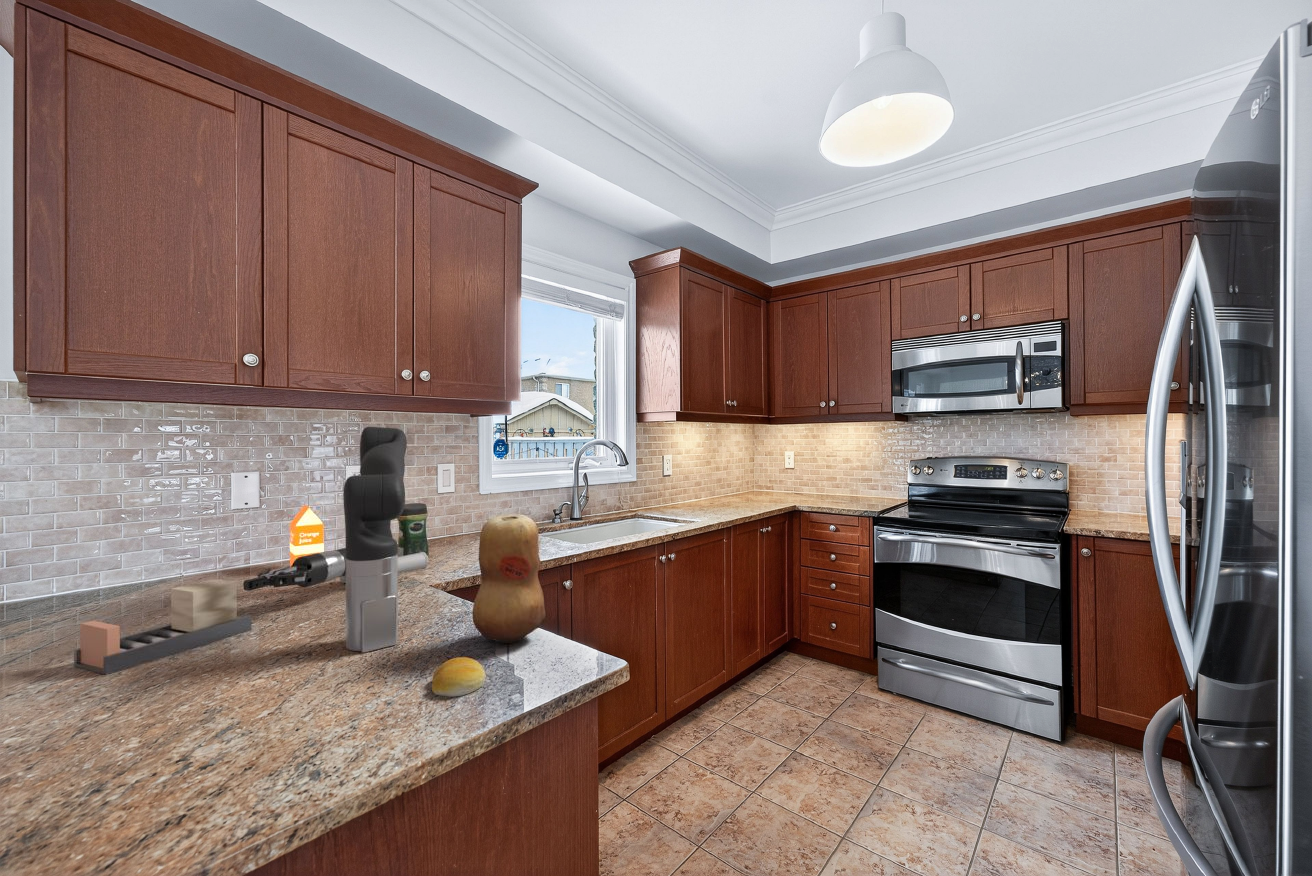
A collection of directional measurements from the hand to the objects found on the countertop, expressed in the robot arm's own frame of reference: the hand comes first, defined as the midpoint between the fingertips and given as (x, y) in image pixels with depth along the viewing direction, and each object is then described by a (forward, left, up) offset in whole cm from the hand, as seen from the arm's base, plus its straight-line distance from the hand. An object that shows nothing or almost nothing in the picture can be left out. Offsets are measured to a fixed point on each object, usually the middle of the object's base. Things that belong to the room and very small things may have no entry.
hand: (245, 585), depth 122 cm
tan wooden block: (-4, +7, -6) cm, 10 cm away
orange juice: (+48, -21, -9) cm, 53 cm away
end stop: (-11, +22, -8) cm, 26 cm away
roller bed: (-6, +13, -8) cm, 16 cm away
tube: (+24, -36, -9) cm, 44 cm away
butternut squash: (-50, -36, -8) cm, 62 cm away
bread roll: (-62, -20, -9) cm, 66 cm away
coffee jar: (+43, -51, -9) cm, 67 cm away
